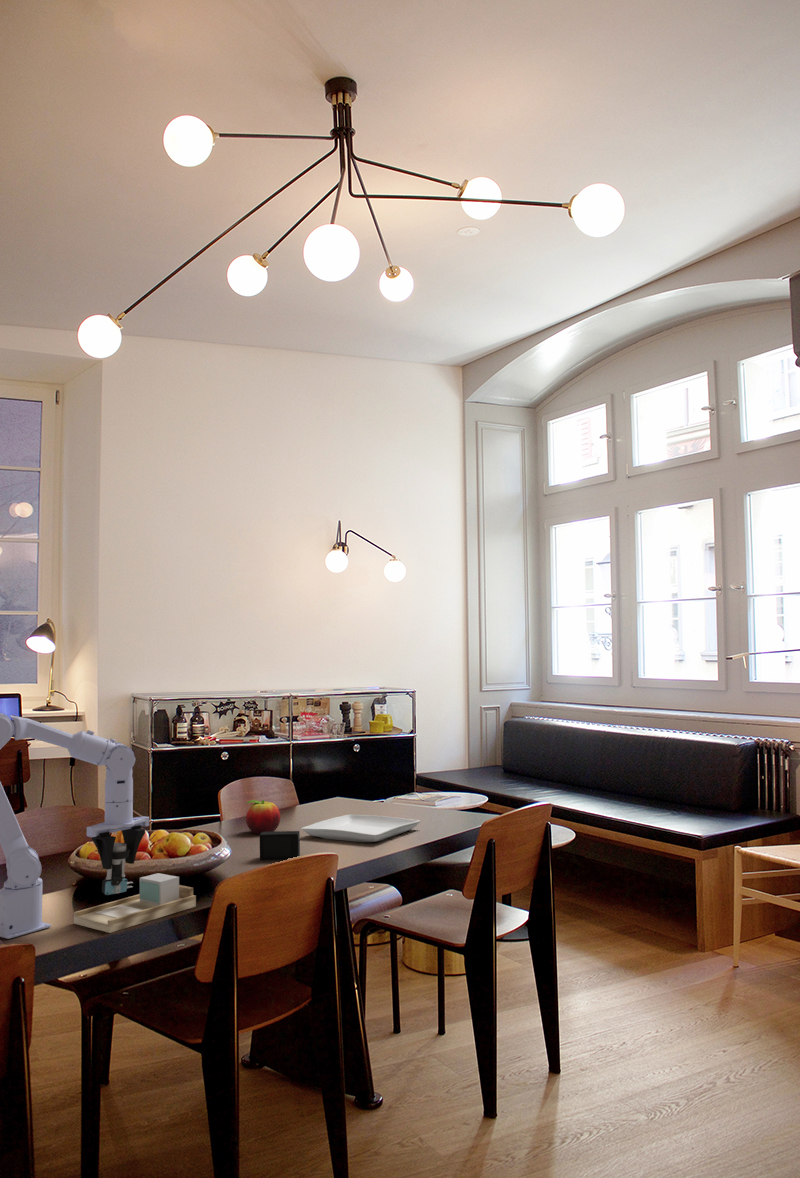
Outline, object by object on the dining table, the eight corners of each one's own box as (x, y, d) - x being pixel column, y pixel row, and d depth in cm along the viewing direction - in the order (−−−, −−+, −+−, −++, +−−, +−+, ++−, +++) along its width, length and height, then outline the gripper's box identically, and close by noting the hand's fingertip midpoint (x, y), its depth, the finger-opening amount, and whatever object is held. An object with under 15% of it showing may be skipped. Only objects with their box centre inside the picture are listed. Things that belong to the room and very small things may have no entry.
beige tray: (110, 932, 174) (110, 912, 174) (73, 923, 181) (74, 904, 181) (195, 906, 192) (195, 888, 192) (159, 898, 199) (159, 881, 199)
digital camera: (300, 855, 241) (300, 829, 241) (298, 860, 235) (298, 833, 236) (262, 856, 241) (262, 830, 241) (259, 861, 235) (259, 834, 236)
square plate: (376, 847, 251) (376, 833, 251) (299, 840, 264) (298, 826, 264) (422, 830, 274) (421, 817, 274) (348, 824, 288) (348, 812, 288)
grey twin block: (159, 906, 187) (159, 882, 188) (138, 901, 191) (138, 878, 192) (179, 900, 192) (179, 876, 192) (158, 896, 196) (158, 873, 196)
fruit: (277, 835, 270) (277, 802, 271) (242, 836, 270) (242, 802, 271) (283, 828, 281) (282, 796, 282) (249, 829, 281) (249, 797, 282)
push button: (126, 886, 192) (129, 839, 192) (137, 892, 188) (140, 845, 188) (97, 891, 187) (100, 843, 187) (108, 897, 183) (111, 849, 184)
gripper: (101, 807, 180) (101, 875, 178) (158, 797, 191) (158, 861, 190) (80, 804, 184) (80, 871, 183) (137, 795, 195) (137, 857, 194)
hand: (118, 865), depth 187 cm, fingers closed on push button, 5 cm apart
